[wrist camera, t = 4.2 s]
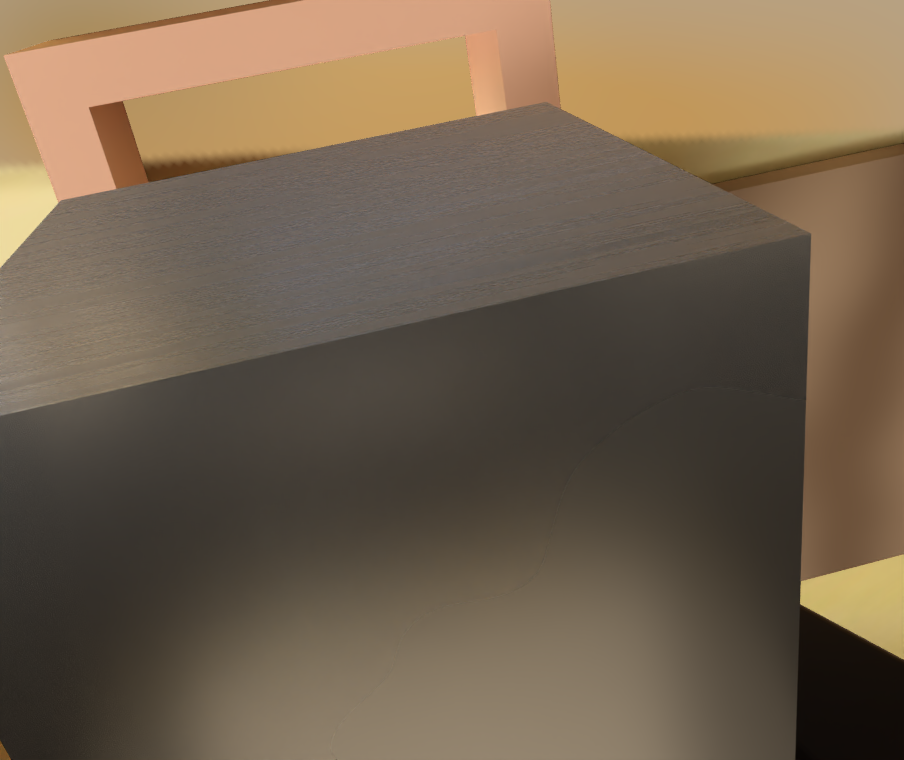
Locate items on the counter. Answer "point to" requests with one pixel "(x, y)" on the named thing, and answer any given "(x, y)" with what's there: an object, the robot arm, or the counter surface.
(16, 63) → the socket collar
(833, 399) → the walnut board
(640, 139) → the counter surface
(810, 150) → the counter surface
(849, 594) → the counter surface
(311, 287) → the t key
